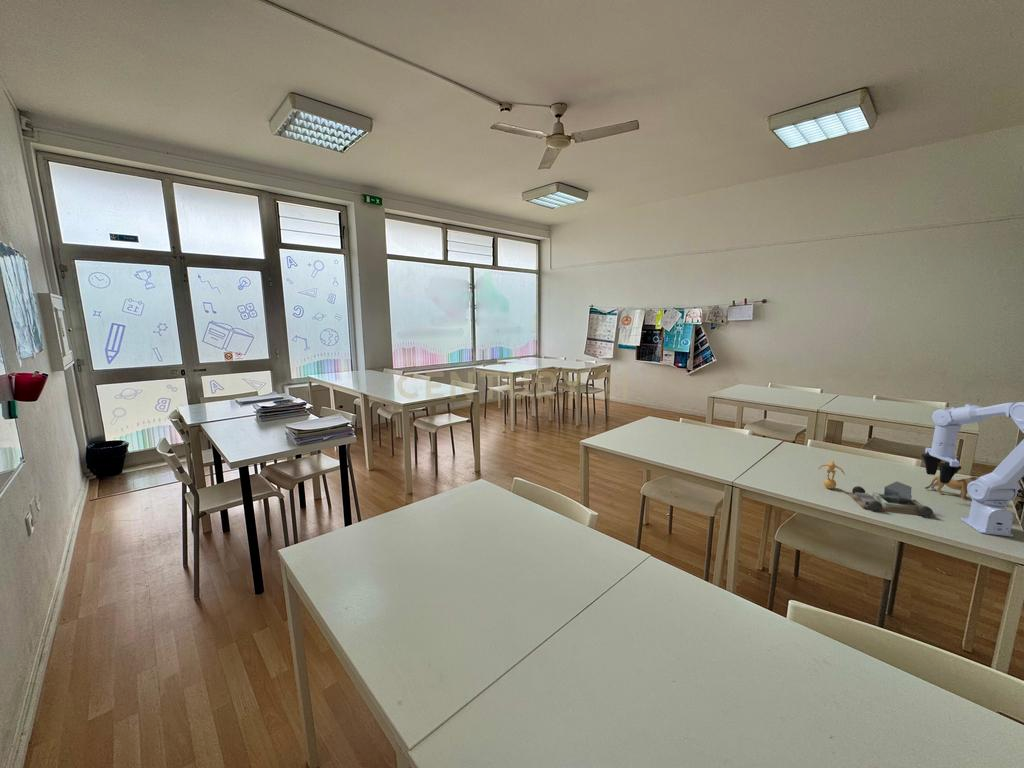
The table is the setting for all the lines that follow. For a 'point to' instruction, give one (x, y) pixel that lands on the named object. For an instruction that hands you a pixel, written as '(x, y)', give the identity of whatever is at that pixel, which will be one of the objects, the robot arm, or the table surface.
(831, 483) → the figurine
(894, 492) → the brushed grey box
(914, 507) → the toy car chassis
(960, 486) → the lion figurine
